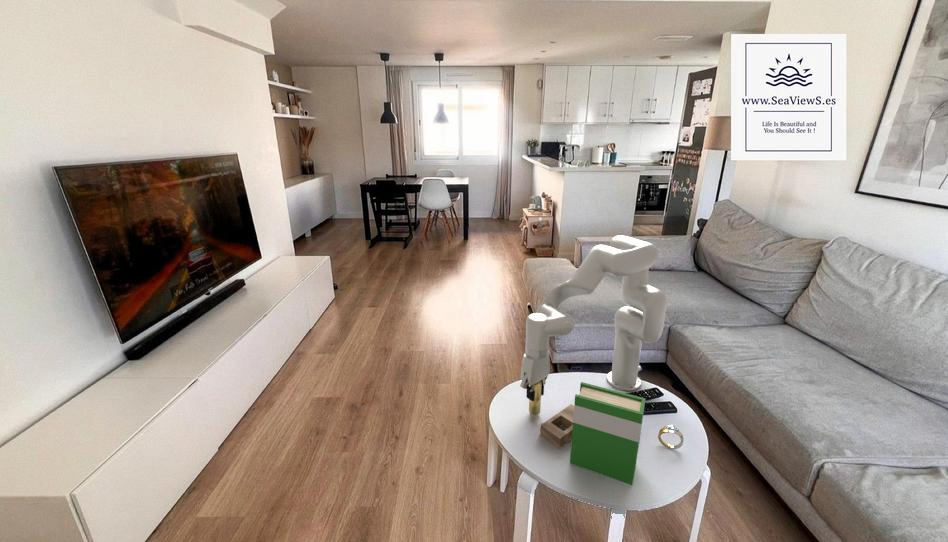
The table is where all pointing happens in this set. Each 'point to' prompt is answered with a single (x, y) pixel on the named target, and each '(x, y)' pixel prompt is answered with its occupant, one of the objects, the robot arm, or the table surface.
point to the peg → (536, 400)
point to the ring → (672, 430)
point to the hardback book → (606, 431)
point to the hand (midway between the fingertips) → (535, 395)
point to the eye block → (553, 432)
